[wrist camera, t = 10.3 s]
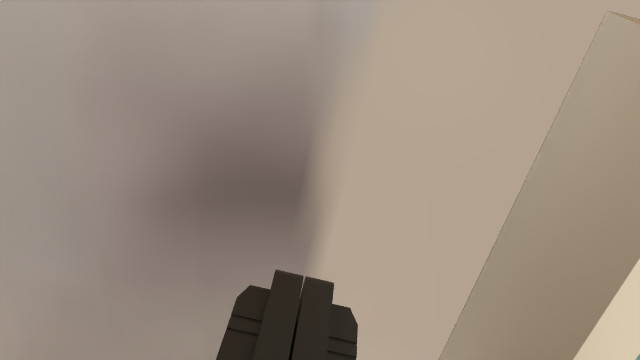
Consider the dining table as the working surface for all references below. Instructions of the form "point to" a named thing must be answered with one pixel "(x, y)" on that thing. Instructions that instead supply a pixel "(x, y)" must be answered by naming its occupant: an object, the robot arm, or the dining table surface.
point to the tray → (571, 227)
